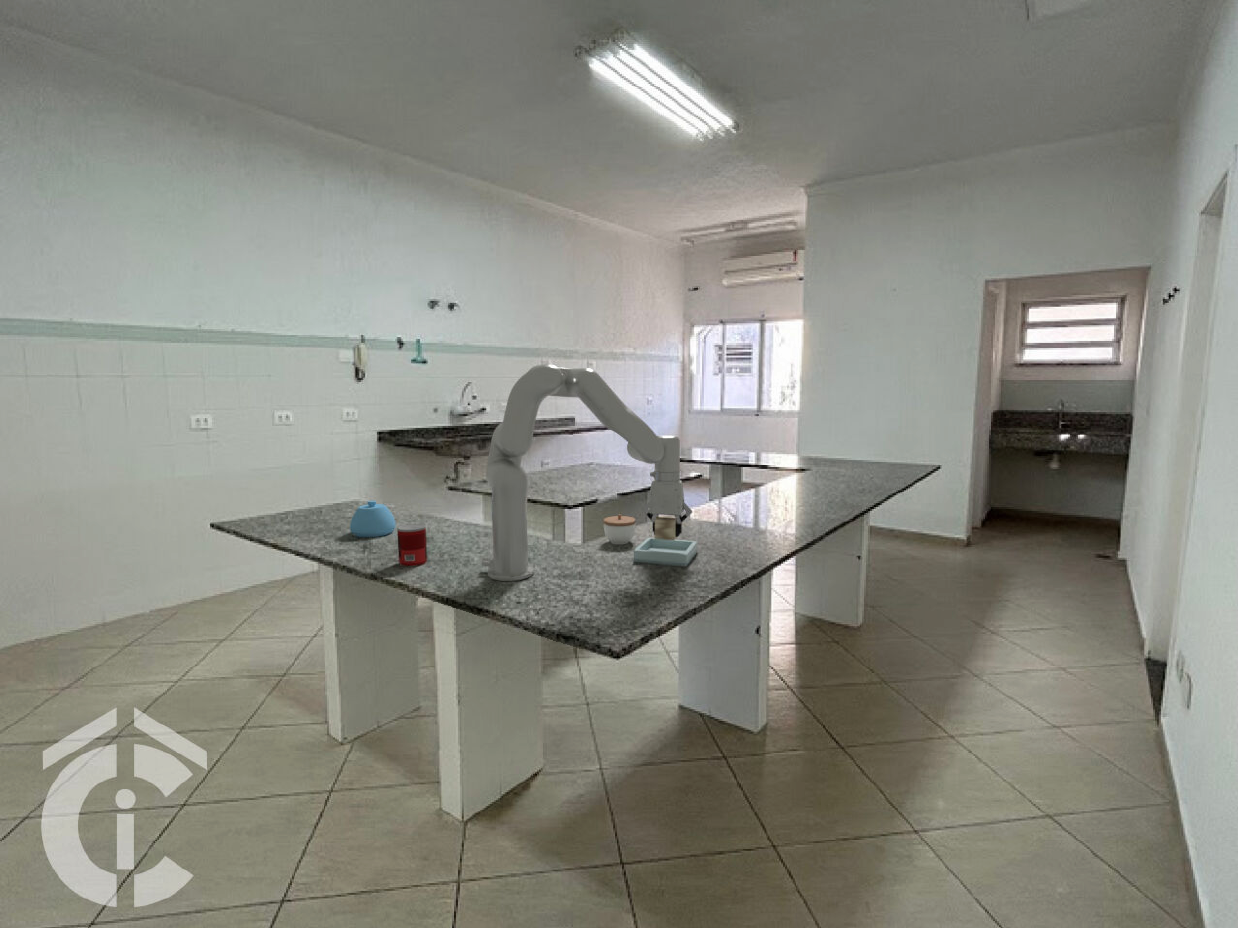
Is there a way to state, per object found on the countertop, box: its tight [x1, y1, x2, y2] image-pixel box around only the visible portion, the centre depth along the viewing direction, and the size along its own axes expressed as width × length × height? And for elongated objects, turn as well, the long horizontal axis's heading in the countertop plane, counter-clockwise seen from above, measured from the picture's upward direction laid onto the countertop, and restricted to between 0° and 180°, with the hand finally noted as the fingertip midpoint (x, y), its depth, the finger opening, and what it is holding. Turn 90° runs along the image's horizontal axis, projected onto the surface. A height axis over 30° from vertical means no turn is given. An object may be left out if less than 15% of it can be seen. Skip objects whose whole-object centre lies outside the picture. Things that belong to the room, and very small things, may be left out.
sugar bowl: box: [349, 500, 397, 538], centre depth 218 cm, size 15×15×12 cm
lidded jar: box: [602, 513, 637, 545], centre depth 206 cm, size 11×11×9 cm
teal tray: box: [633, 537, 698, 568], centre depth 189 cm, size 16×16×4 cm
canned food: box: [396, 523, 428, 567], centre depth 183 cm, size 8×8×11 cm
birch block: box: [654, 515, 678, 540], centre depth 188 cm, size 6×6×6 cm
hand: (667, 534), depth 188 cm, fingers closed on birch block, 6 cm apart
